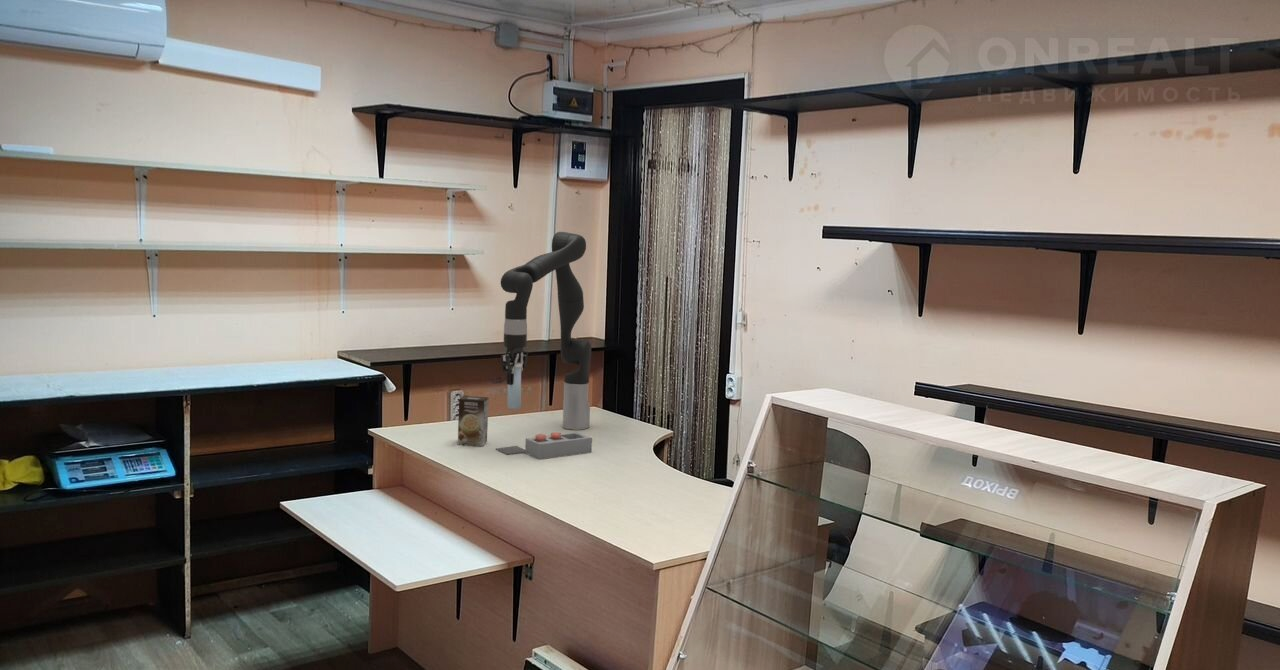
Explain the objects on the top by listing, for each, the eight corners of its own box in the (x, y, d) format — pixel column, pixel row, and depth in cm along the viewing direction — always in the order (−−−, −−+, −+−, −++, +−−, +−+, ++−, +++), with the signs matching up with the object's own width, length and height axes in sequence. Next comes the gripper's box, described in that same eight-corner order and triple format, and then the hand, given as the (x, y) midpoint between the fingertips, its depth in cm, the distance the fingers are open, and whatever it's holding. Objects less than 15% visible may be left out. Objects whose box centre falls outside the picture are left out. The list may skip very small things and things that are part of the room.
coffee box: (456, 444, 315) (457, 398, 313) (462, 440, 321) (463, 395, 319) (483, 446, 314) (484, 400, 312) (488, 442, 320) (489, 396, 318)
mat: (516, 446, 315) (516, 445, 315) (528, 452, 309) (528, 451, 309) (495, 449, 311) (495, 448, 310) (507, 455, 304) (507, 453, 304)
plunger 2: (557, 447, 312) (557, 432, 311) (562, 450, 309) (563, 434, 308) (548, 449, 310) (549, 433, 309) (553, 451, 307) (554, 435, 306)
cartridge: (524, 407, 309) (524, 363, 307) (516, 409, 305) (517, 364, 303) (511, 406, 311) (511, 361, 309) (504, 408, 307) (504, 363, 305)
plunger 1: (541, 449, 308) (542, 433, 308) (547, 452, 306) (547, 435, 305) (533, 451, 306) (533, 434, 305) (538, 453, 303) (538, 437, 303)
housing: (576, 446, 320) (577, 432, 319) (591, 452, 313) (592, 437, 312) (525, 453, 308) (525, 438, 307) (539, 459, 301) (539, 444, 300)
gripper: (514, 335, 297) (512, 388, 299) (536, 331, 310) (534, 381, 312) (494, 333, 300) (492, 385, 302) (516, 329, 313) (515, 379, 315)
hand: (514, 383), depth 307 cm, fingers closed on cartridge, 4 cm apart
